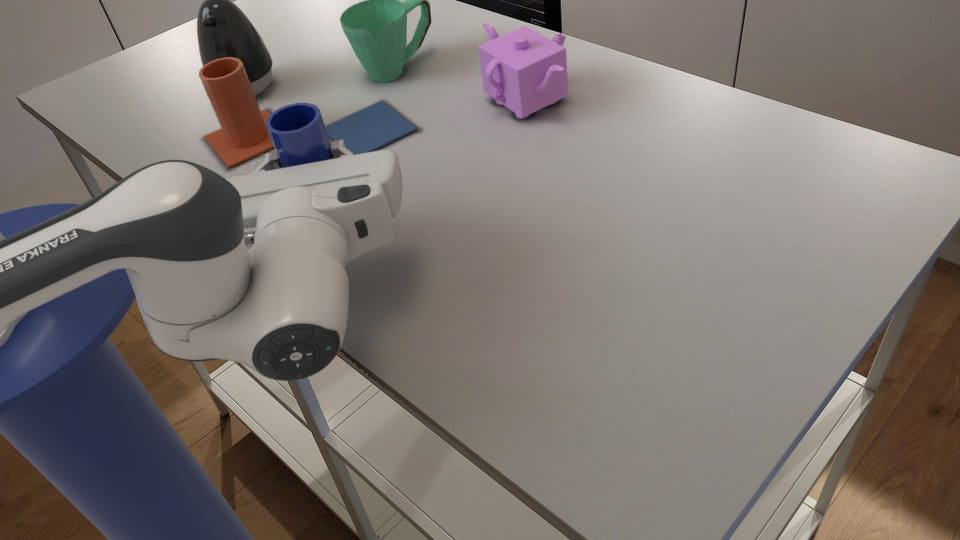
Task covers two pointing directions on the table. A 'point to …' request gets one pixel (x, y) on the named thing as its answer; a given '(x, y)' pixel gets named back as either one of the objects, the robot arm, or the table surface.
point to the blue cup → (299, 135)
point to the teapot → (524, 69)
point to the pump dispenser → (233, 41)
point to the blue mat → (370, 128)
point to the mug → (384, 34)
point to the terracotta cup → (233, 102)
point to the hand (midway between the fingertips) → (306, 151)
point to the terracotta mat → (237, 155)
